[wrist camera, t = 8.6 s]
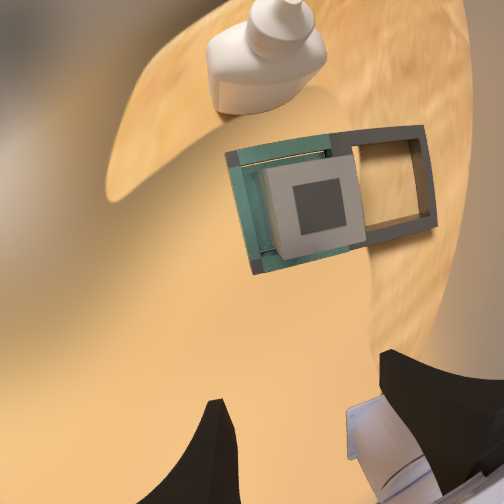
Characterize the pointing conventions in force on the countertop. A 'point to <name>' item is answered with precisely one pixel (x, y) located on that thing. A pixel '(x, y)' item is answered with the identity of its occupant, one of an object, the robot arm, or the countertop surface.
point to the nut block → (311, 206)
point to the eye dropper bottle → (264, 58)
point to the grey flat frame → (331, 146)
